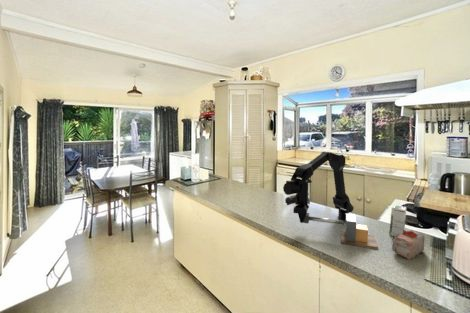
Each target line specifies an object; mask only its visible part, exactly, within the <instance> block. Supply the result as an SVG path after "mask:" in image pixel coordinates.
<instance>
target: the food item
mask: <svg viewBox="0 0 470 313" xmlns="http://www.w3.org/2000/svg"><path fill="white" fill-rule="evenodd" d="M391 244H392V245H391V246H392V247H391V250H392V252H394V254H397V255H399V256H400V257H403V258H405V259H407V260H411V259H412V258H414V257H415V256H417V255H419V254H421V253H422V252H424V250H425V235H423V233H421V232H418V231H416V230H413V229H412V230H405V229H403V234H402V235H400V236H399V234H398V235H396V237H395V236H394V238H393V239H392V243H391Z"/></svg>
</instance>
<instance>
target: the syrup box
mask: <svg viewBox="0 0 470 313" xmlns="http://www.w3.org/2000/svg"><path fill="white" fill-rule="evenodd" d="M390 212H391V213H390V222H389V224H390V225H389V234H388V236H392V237H394V238H395V237H396V235H398V234H399V236H400V235H402V234H403V229H404V230H405V229H406V226H405V225H406V220H407V219H406V218H407V207H406V206H402V205H398V204H397V205H396V204H395V205H394V204H392V207H391V211H390Z"/></svg>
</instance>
